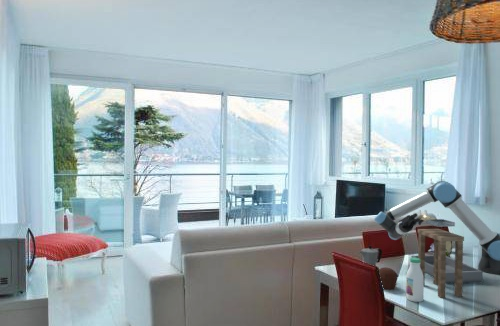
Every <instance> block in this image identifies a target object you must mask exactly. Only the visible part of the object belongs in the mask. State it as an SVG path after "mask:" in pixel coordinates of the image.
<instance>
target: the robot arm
mask: <svg viewBox="0 0 500 326" xmlns="http://www.w3.org/2000/svg"><path fill="white" fill-rule="evenodd" d="M436 202H439V203H440V204H441V205H442V206H443V207H444V208H445V209H449V210H450V211H452V213H453V214H454V215H455V216H456V217H457V218H458V219H459V220H460V221H461V222H462V223H463V224H464V226H465V227H466V228H467V229H468V230H469V231H470V232H471V233H472V234H473V236H475V237H476V239H477V240H478V245H479V246H480V247H481V257H480V259H479V262H478V264H477V269H478V270H480V271H483V272H484V273H488V274H492V275H493V274H495V275H500V232H497V231H493V230H491V228H490V227H489V226H488V225H487V224H486V223H485V222H484V221H483V220H482V219H481V218H480V216H478V214H476V213H475V212H474V211H473V210H472V208H471V207H469V205H468V203H466V202H465V201H464V200H463V194H461V193H460V192H459V190H457V188H456V187H455V186H454V185H453V184H452V183H450V182H449V181H446V180H440V181H437V182H436V183H434V184H432V185H431V186H429V187H428V188H426V189H425V190H424V192H421V193H419V194H417V195H415V196H414V197H412V198H409V199H407V200H406V201H404V202H402V203H400V204H398V205H395V206H393V207H392V208H390V209H388V210H386V211H379V213H378V214H377V215H376V216H375V217H374V218H373V220H374V221H375V222H376V223H377V224H378V225H379V226H381V227H382V229H384V230H385V231H387V233H388V236H389V238H390V239H391V240H394V241H397V240H400V239H401V238H402V237H404V236H405V235H406V234H408V233H409V232H411V231H412V230H413V228H414V226H416V225H421V224H422V223H423V222H425V220H421V219H418V217H419V216H421V215H426V216H429V215H428V210H427V209H424V210H423V211H421V210H420V208H422V207H424V206H427V205H428V204H431V203H436ZM418 209H419V210H418ZM417 210H418V211H417ZM415 211H416V212H415ZM412 212H414V213H415V214H413V213H412ZM410 213H412V214H411V215H410ZM408 214H409V215H408ZM404 216H405V217H404ZM403 217H404V218H403ZM400 218H402V219H400ZM398 219H400V220H398ZM395 220H398V222H395Z"/></svg>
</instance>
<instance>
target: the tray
mask: <svg viewBox="0 0 500 326" xmlns="http://www.w3.org/2000/svg"><path fill="white" fill-rule="evenodd" d="M410 258H418V255H411V256H410ZM433 272H434V255H432V254H431V255H430V254H429V255H425V274H427V275H428V276H430V277H432V278H433ZM483 272H484V271H481V270H479V269H478V268H475V267H473V266H471V265H468V264H466V263H464V262H463V276H462V284H470V283H471V284H473V283H474V284H475V283H483ZM447 284H455V258H451V257H450V256H448V257H447V256H446V279H445V285H447Z"/></svg>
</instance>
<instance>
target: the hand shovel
mask: <svg viewBox="0 0 500 326" xmlns="http://www.w3.org/2000/svg"><path fill="white" fill-rule="evenodd" d="M415 213H416V212H413V213H412V215H413V214H415ZM418 219H421V220H424V222H426V224H427V225H431V226H434V227H439V228H440V227H441V228H443V227H445V228H447V227H455V226H456V223H455V221H451V220H447V219H444V218H443V219H442V218H438V219H437V218H436V217H433V216H429V215H421V216H419V217H418Z"/></svg>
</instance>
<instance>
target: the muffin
mask: <svg viewBox="0 0 500 326" xmlns="http://www.w3.org/2000/svg"><path fill="white" fill-rule="evenodd" d="M378 270H379V273H380V277H381V281H382V285H383V288H384V289H383V290H387V291H393V290H395V289H396V286H397V282H398V281H397V280H398V278H399V275H398V274H397V272H396V271H395V270H394V269H393V268H390V267H380V268H378Z"/></svg>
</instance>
